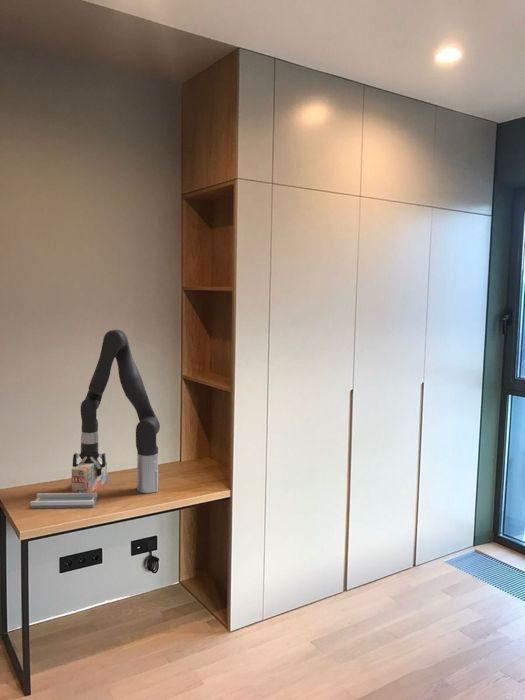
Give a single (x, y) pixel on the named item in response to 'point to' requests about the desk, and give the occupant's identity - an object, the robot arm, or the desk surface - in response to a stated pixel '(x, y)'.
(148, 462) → the robot arm
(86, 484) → the stack of blocks
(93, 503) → the base board
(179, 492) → the desk surface
